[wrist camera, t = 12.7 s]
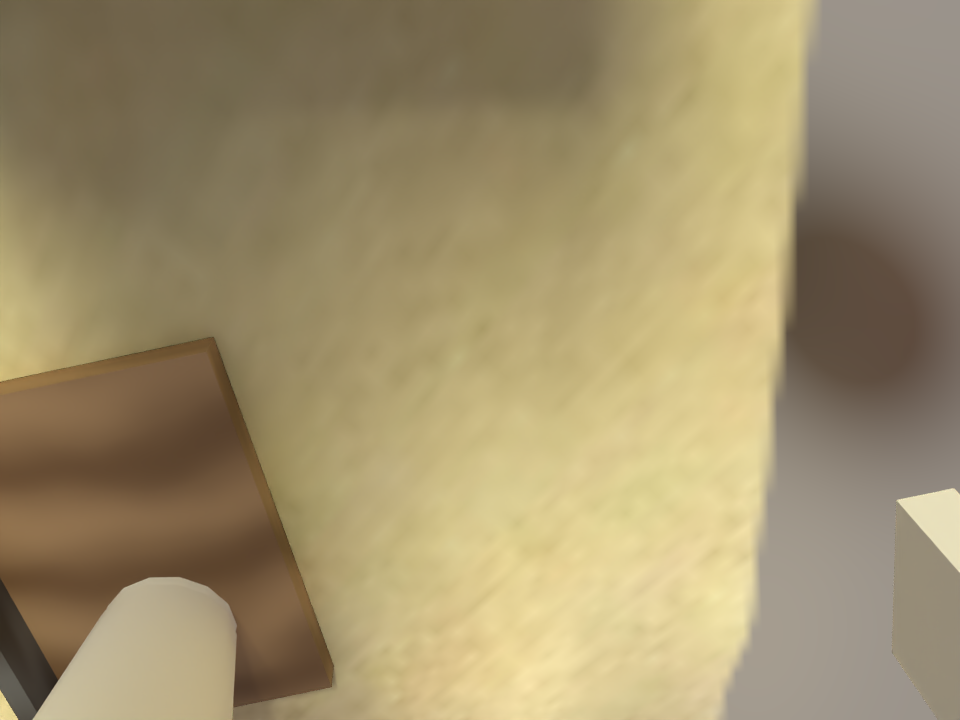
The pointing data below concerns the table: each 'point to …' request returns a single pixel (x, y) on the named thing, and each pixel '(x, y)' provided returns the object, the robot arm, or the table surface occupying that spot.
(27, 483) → the shelf board
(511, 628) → the table surface
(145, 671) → the foam cup
